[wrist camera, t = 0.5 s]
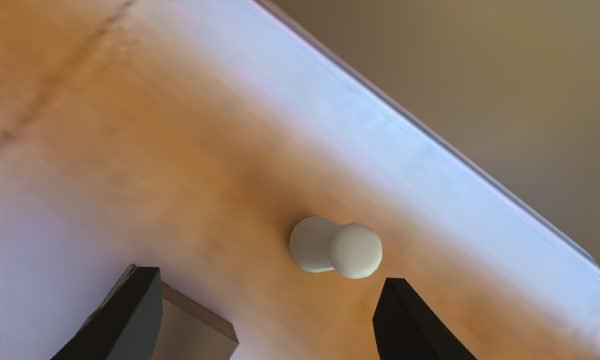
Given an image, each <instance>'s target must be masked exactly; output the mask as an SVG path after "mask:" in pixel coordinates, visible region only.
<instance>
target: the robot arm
mask: <svg viewBox="0 0 600 360" xmlns="http://www.w3.org/2000/svg"><path fill="white" fill-rule="evenodd" d="M162 317H163V304H162V291H161V279H160V268H159V267H138V268H136V269H135V270H134V271H133V273H132V274H131V275H130V276H129V277H128V279H127V280H126V281H125V282H124V283H123V284H122V286H121V287H120V288H119V289H118V290H117V291H116V293H115V294H114V295H113V296H112V297H111V298H110V299H109V300H108V302H107V303H106V304H105V305H104V306H103V307H102V308H101V309H100V310H99V311H98V312H97V313H96V314H95V316H94V317H93V318H92V319H91V320H90V321H89V322H88V323H87V324H86V325H85V326H84V327H83V328H82V329H81V330H80V331H79V332H78V333H77V334H76V335H75V336H74V337H73V338H72V339H71V340H70V341H69V342H68V343H67V344H66V345H65V346H64V347H63V348H62V349H61V350H60V351H59V352H58V353H57V354H56V355H54V356H53V357H52V358H51V359H50V360H151V358H152V355H153V352H154V349H155V346H156V342H157V338H158V334H159V330H160V326H161V321H162ZM372 321H373V327H374V333H375V339H376V344H377V349H378V353H379V356H380V360H477V359H476V358H475V357H474V356H473V355H472V354H471V353H470V352H469V351H468V350H467V349H466V348H465V347H464V345H463V344H462V343H461V342H460V341H459V340H458V339H457V338H456V337H455V336H454V335H453V334H452V333H451V332H450V330H449V329H448V328H447V327H446V326H445V325H444V324H443V323H442V322H441V320H440V319H439V318H438V317H437V316H436V315H435V314H434V312H433V311H432V310H431V309H430V308H429V307H428V306H427V304H426V303H425V302H424V301H423V300H422V299H421V297H420V296H419V295H418V294H417V293H416V291H415V290H414V289H413V288H412V287H411V286H410V284H409V283H408V282H407V281H406V280H405V279H404V278H386V281H385V284H384V287H383V290H382V293H381V295H380V298H379V301H378V304H377V307H376V310H375V313H374V316H373V319H372Z"/></svg>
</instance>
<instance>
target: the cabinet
mask: <svg viewBox="0 0 600 360" xmlns="http://www.w3.org/2000/svg"><path fill="white" fill-rule="evenodd" d="M136 268H138V267H137V266H135V265H134V264H131V265H130V266H129V267H128V268H127V270H126V271H125V273H124V274H123V275H122V277H121V278H120V279H119V281H118V282H117V283H116V285H115V286H114V287H113V289H112V290H111V291H110V293H109V294H108V295H107V297H106V298H105V300H104V301H103V302H102V304H101V305H100V306H99V307H101V308H102V307H103V306H104V305H105V304H106V303H107V302H108V300H109V299H110V298H111V297H112V296H113V295H114V294H115V292H116V291H117V290H118V288H119V287H120V284H121V283H122V282H123V280H124V279H125V278H126V277H127V276H128V275H129V274H131V273H132V272H133V271H134V270H135V269H136ZM161 291H162V304H163V317H162V321H161V326H160V330H159V334H158V338H157V342H156V346H155V349H154V352H153V355H152V358H151V360H230V358H231V356H232V355H233V353H234V351H235V350H236V348H237V347H238V345H239V341H238V338H237V336H236V333H235V330H234V327H233V325H232V324H231V323H229V322H228V321H226V320H224V319H223V318H221V317H220V316H218V315H216V314H215V313H213V312H211V311H210V310H208V309H206V308H205V307H203V306H201V305H200V304H198V303H197V302H195V301H193V300H192V299H190V298H188V297H187V296H185V295H183V294H182V293H180V292H178V291H177V290H175V289H173V288H172V287H170V286H169V285H167V284H165V283H164V282H162V281H161Z"/></svg>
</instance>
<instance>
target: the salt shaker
mask: <svg viewBox="0 0 600 360" xmlns="http://www.w3.org/2000/svg"><path fill="white" fill-rule="evenodd" d="M289 250H290V252H291V254H292V257H293V259H294V261H295V262H296V263H297V264H298V265H299V266H300V267H301V268H302V269H304V270H306V271H311V272H315V273H317V272H322V271H328V270H333V269H335V270H336V271H337V272H339V273H340V274H341V275H342V276H345V277H350V278H354V279H358V278H362V277H366V276H369V275H370V274H371V273H373V272H374V271H375V270H376V269H377V268H378V265H379V263H380V261H381V259H382V244H381V242H380V240H379V237H378V235H377V234H376V233H375V232H374V231H373V230H372V229H371V228H369V227H367V226H365V225H361V224H358V223H350V224H346V225H342V226H341V225H339V224H337V223H336V222H334V221H332V220H330V219H328V218H325V217H321V216H318V215H317V216H312V217H308V218H305V219H303V220H302V221H301V222H300V223H298V224H297V225H296V226H295V227H294V229H293V231H292V234H291V236H290V245H289Z"/></svg>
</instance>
